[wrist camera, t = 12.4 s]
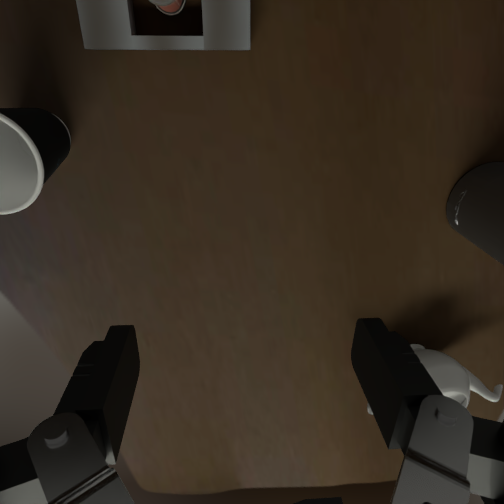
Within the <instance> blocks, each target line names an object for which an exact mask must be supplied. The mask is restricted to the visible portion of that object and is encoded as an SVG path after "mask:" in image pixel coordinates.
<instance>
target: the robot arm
mask: <svg viewBox="0 0 504 504" xmlns="http://www.w3.org/2000/svg"><path fill="white" fill-rule="evenodd" d="M446 211H447V218H448V221H449V224H450V225H451V226H452V228H453V229H454V230H456V231H457V232H458V233H459V234H461V235H462V236H464V237H465V238H466V239H468V240H469V241H471V242H472V243H473V244H475V245H476V246H477V247H479V248H480V249H482V250H483V251H484V252H486V253H487V254H489V255H490V256H491V257H493V258H494V259H496V260H497V261H498V262H500V263H501V264H503V265H504V163H503V162H491V163H486V164H483V165H481V166H478V167H476V168H474V169H473V170H471V171H470V172H468V173H467V174H466V175H465V176H464V177H462V178H461V179H460V181H459V182H458V183H457V184H456V185H455V187H454V189H453V190H452V192H451V194H450V196H449V199H448V202H447V209H446ZM351 360H352V365H353V368H354V371H355V373H356V375H357V378H358V380H359V382H360V385H361V387H362V389H363V392H364V394H365V396H366V398H367V401H368V403H369V405H370V408H371V410H372V412H373V415H374V417H375V419H376V422H377V424H378V426H379V429H380V431H381V433H382V435H383V438H384V440H385V442H386V445H387V447H388V449H399V448H401V450H402V452H403V454H404V459H403V462H402V465H401V469H400V472H399V475H398V479H397V482H396V485H395V489H394V492H393V496H392V499H391V502H390V504H468V503H469V495H470V493H473V494H476V495H480V496H481V498H482V500H483V502H484V504H504V421H503V422H502V423H501V422H496V421H492V420H487V419H483V418H478V417H474V416H471V414H470V413H469V411H468V410H467V409H466V408H465V407H464V406H463V405H462V404H460V403H459V402H457V401H456V400H454V399H452V398H449V397H446V396H444V395H443V394H442V392H441V391H440V389H439V388H438V386H437V385H436V383H435V382H434V380H433V379H432V377H431V376H430V374H429V373H428V371H427V370H426V368H425V367H424V365H423V364H422V363H421V362H420V359H419V358H418V356H417V355H416V354H415V353H414V350H413V349H412V347H411V346H410V344H409V343H408V341H407V340H405V339H404V338H403V337H402V336H400V335H399V334H398V333H397V332H395V331H393V332H389V331H388V329H387V328H386V326H385V325H384V323H383V321H382V320H381V319H380V318H359V319H358V320H357V323H356V328H355V333H354V339H353V344H352V350H351ZM139 370H140V358H139V352H138V345H137V339H136V333H135V328H134V326H133V325H117V326H110V328H109V330H108V333H107V335H106V337H105V340H104V341H94V342H93V343H92V344H91V345H90V346H89V347H88V348H87V349H86V350H85V351H84V352H83V353H82V356H81V358H80V360H79V362H78V366H76V368H75V370H74V372H73V377H71V379H70V381H69V383H68V385H67V387H66V389H65V391H64V394H63V396H62V398H61V400H60V402H59V404H58V406H57V408H56V410H55V413H54V414H53V416H51V417H49V418H47V419H45V420H44V421H42V422H41V423H40V424H38V425H37V426H36V427H35V429H34V430H33V431H32V432H31V434H30V436H29V437H27V438H25V439H22V440H19V441H16V442H13V443H10V444H7V445H4V446H1V447H0V504H135V503H134V502H133V500H132V498H131V496H130V495H129V493H128V491H127V489H126V488H125V486H124V484H123V482H122V481H121V479H120V477H119V475H118V474H117V472H116V471H115V469H114V468H111V469H110V467H109V466H108V464H116V461H117V457H118V453H119V449H120V446H121V442H122V438H123V434H124V430H125V426H126V423H127V419H128V415H129V411H130V407H131V403H132V400H133V396H134V392H135V388H136V384H137V381H138V377H139ZM294 504H343V502H342V499H341V497H335V498H321V499H320V498H319V499H305V500H302V501H300V502H297V503H294Z"/></svg>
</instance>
